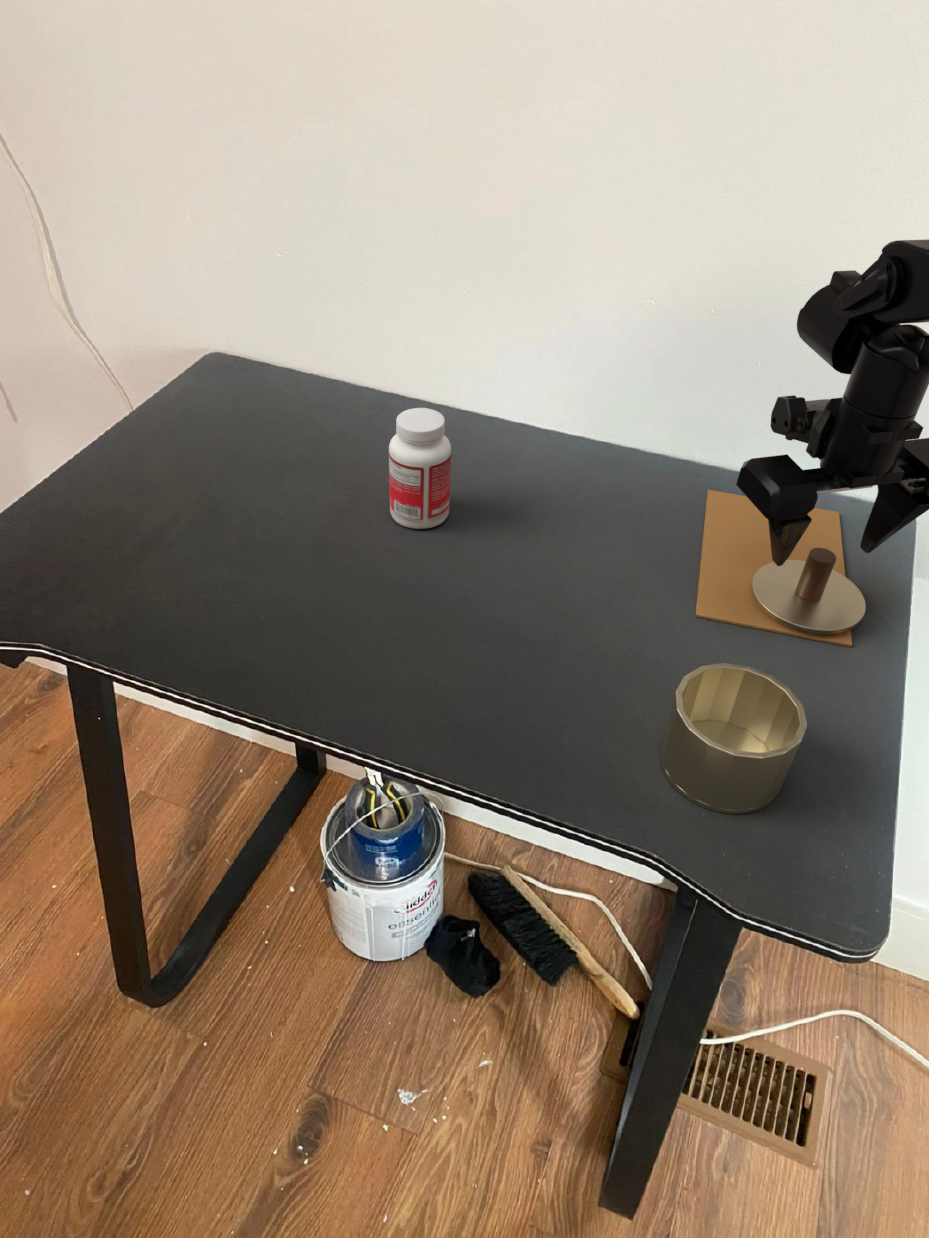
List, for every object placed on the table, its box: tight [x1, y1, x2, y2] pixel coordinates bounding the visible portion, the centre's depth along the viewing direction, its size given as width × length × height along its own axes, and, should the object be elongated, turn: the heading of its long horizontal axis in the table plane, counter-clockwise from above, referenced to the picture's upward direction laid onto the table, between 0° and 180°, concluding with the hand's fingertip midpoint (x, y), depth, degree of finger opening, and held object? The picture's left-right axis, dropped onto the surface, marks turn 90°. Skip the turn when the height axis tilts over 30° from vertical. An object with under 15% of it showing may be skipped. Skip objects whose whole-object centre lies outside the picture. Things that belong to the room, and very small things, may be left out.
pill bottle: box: [388, 407, 452, 530], centre depth 92 cm, size 6×6×11 cm
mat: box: [694, 489, 853, 648], centre depth 92 cm, size 14×22×1 cm, turn 166°
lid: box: [751, 548, 867, 634], centre depth 85 cm, size 10×10×6 cm
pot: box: [659, 662, 808, 815], centre depth 70 cm, size 9×9×6 cm
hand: (821, 556), depth 84 cm, fingers open, 9 cm apart
